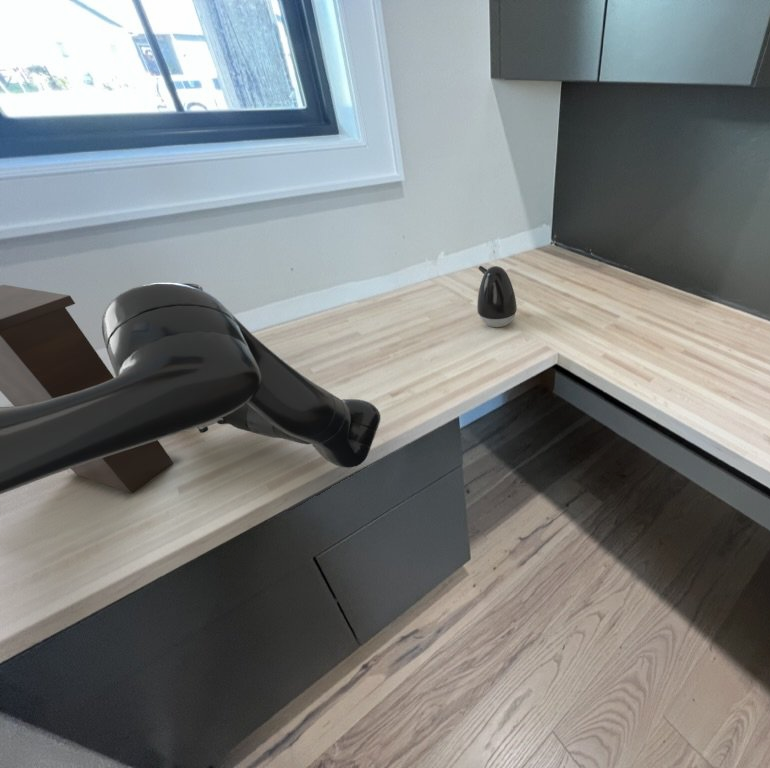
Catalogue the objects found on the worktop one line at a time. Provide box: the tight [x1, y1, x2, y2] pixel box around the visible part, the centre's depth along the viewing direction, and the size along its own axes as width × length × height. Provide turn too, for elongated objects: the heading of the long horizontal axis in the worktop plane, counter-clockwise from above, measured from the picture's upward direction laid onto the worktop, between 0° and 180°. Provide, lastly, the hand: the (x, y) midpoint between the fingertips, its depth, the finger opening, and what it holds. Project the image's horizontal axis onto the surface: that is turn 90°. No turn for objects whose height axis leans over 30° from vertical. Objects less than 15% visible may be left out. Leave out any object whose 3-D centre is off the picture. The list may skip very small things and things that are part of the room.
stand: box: [0, 284, 174, 494], centre depth 61 cm, size 14×9×30 cm, turn 72°
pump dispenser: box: [476, 265, 518, 328], centre depth 106 cm, size 10×10×15 cm
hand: (191, 393), depth 74 cm, fingers closed
